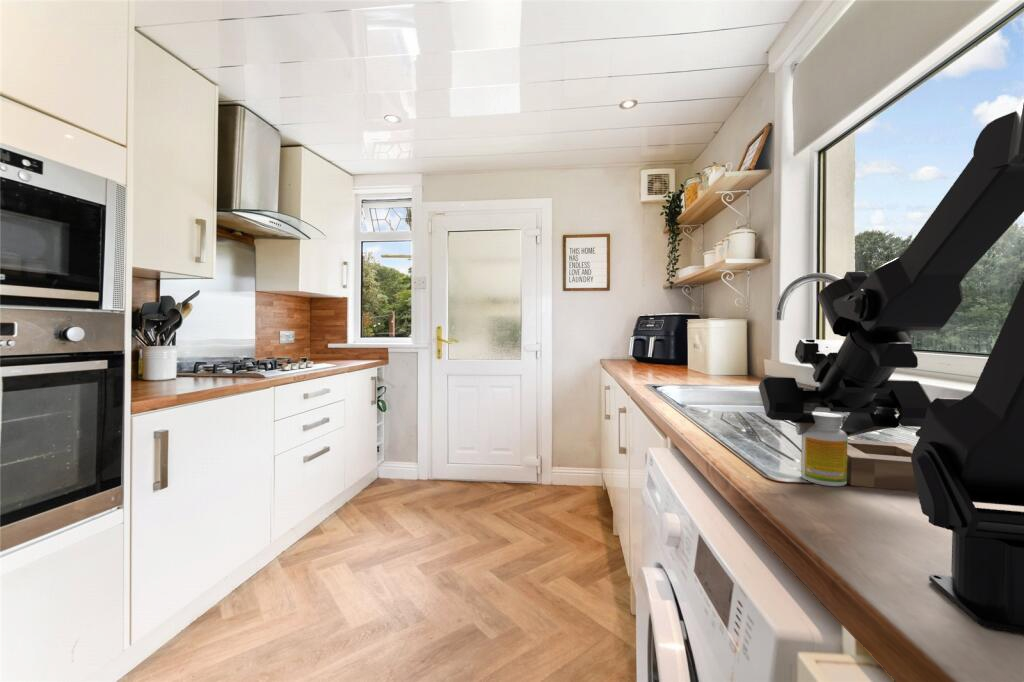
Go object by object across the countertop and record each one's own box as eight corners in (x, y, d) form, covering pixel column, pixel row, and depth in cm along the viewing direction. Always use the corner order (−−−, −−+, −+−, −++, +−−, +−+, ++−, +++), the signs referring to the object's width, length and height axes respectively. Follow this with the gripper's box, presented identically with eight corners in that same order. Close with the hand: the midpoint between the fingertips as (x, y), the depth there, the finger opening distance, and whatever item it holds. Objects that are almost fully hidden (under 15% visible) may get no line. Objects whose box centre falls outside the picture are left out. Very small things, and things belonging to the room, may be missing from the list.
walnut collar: (958, 495, 57) (959, 465, 57) (851, 485, 60) (851, 457, 60) (906, 468, 68) (907, 443, 68) (818, 461, 72) (819, 437, 72)
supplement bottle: (855, 488, 59) (856, 418, 59) (811, 485, 60) (812, 416, 60) (834, 475, 64) (835, 411, 64) (794, 473, 65) (795, 410, 65)
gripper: (923, 319, 56) (872, 392, 67) (764, 319, 60) (740, 388, 71) (969, 387, 48) (903, 456, 59) (784, 381, 53) (754, 447, 64)
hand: (819, 433), depth 63 cm, fingers closed on supplement bottle, 5 cm apart
